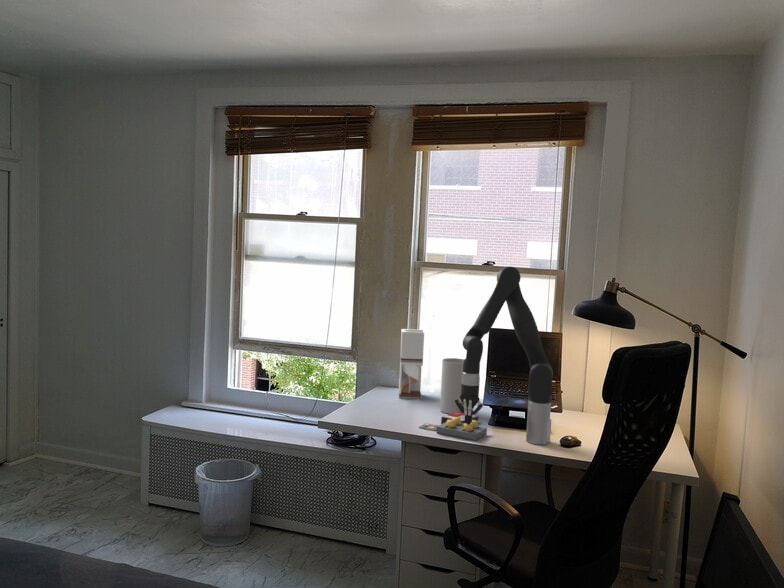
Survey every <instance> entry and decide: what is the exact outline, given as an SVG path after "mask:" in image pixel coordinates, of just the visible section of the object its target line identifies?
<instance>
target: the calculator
mask: <svg viewBox="0 0 784 588" xmlns="http://www.w3.org/2000/svg"><path fill="white" fill-rule="evenodd" d="M453 417H460V418H461V423H466V422H465V414H464V413H461V412H455V413H452V414H447V415H443V416H441V420H440V425H441V424H443V423H445V422H447V420H452V418H453ZM472 420H476V421H478V422H479V416H478V415H476V414H475V415H472Z"/></svg>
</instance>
